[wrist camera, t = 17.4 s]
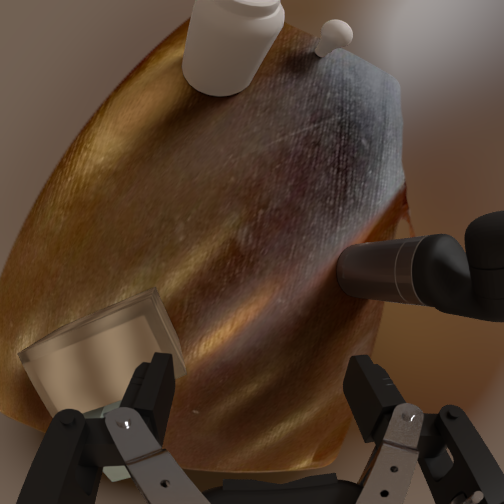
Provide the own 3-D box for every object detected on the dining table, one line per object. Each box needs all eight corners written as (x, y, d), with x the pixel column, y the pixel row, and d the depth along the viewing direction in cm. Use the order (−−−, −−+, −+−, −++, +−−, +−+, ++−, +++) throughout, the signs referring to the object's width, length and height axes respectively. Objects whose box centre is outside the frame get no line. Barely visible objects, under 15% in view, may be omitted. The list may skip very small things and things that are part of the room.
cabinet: (155, 286, 40) (150, 297, 25) (209, 398, 41) (232, 451, 27) (49, 331, 35) (3, 359, 20) (108, 436, 36) (95, 494, 21)
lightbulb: (334, 67, 51) (363, 39, 41) (309, 64, 49) (336, 32, 39) (326, 46, 51) (352, 17, 41) (301, 42, 49) (326, 10, 39)
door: (119, 378, 37) (105, 419, 25) (147, 423, 38) (145, 472, 26) (92, 389, 36) (71, 430, 24) (120, 432, 37) (112, 481, 24)
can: (166, 75, 41) (177, -14, 22) (208, 36, 44) (234, -44, 25) (228, 111, 44) (270, 30, 25) (264, 68, 47) (311, -6, 27)
